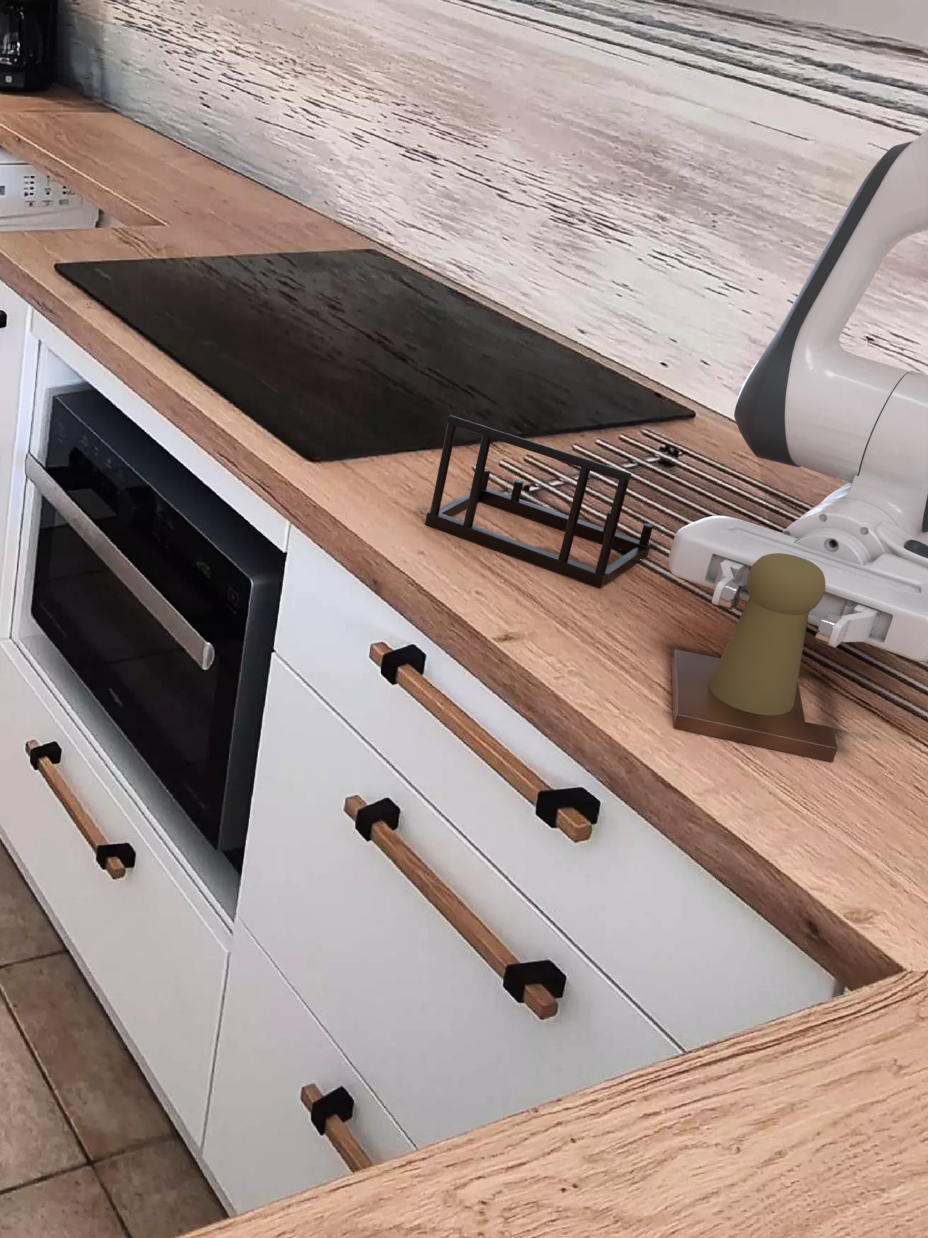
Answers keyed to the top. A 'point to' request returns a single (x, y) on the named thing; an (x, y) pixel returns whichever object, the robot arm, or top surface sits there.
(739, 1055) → the top surface
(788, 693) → the cork
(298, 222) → the top surface
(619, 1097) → the top surface
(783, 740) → the walnut board
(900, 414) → the robot arm
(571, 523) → the dish rack
